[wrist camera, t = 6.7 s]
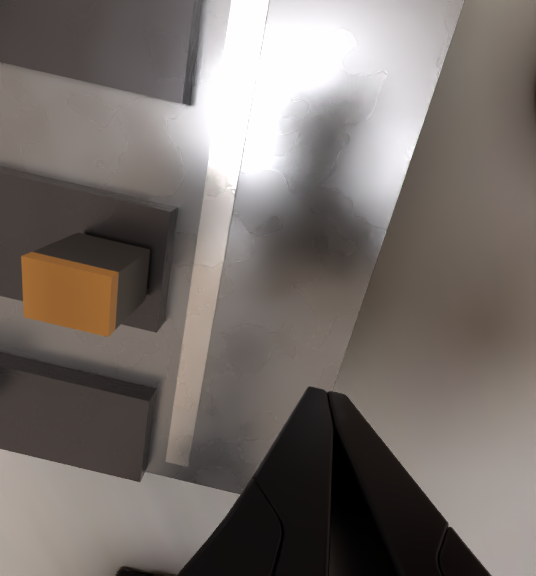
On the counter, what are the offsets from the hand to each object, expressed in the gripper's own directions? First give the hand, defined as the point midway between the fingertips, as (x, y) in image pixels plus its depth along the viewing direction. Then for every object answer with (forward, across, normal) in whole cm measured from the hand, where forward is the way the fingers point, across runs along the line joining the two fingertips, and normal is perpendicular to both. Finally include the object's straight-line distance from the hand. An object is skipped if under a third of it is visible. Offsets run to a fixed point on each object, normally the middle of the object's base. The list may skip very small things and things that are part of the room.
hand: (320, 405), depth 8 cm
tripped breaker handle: (+4, +7, 0) cm, 8 cm away
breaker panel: (+7, +10, 0) cm, 13 cm away
